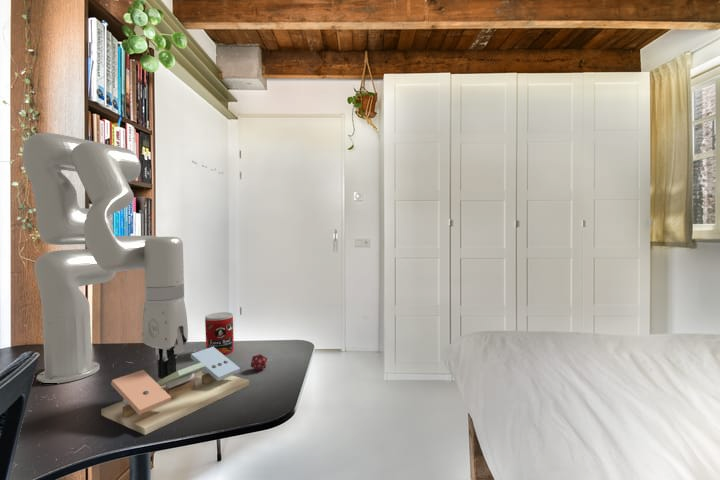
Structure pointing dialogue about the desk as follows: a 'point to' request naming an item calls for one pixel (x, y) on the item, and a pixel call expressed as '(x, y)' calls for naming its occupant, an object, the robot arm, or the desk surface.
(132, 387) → the tile
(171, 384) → the tile
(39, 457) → the desk surface
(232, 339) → the canned food
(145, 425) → the board
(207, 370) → the tile
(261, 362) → the dice
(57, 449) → the desk surface
